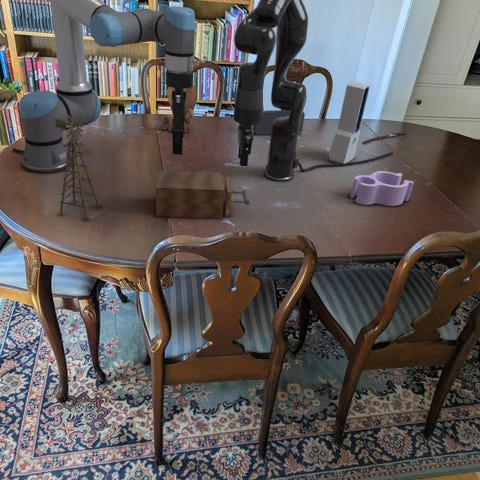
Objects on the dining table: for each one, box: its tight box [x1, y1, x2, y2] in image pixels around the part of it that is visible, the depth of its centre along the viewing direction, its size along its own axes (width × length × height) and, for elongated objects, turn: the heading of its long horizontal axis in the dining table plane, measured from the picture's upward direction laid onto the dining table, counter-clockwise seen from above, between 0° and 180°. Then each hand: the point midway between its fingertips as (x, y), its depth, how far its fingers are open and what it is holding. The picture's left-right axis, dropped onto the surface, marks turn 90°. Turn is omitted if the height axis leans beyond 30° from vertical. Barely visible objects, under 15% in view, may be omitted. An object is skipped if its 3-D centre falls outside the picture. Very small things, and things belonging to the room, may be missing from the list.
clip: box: [349, 170, 415, 207], centre depth 159 cm, size 20×12×7 cm, turn 109°
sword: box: [363, 132, 408, 145], centre depth 213 cm, size 31×3×1 cm, turn 126°
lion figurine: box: [159, 108, 195, 133], centre depth 195 cm, size 15×5×9 cm, turn 110°
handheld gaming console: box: [252, 109, 306, 136], centre depth 203 cm, size 23×3×10 cm, turn 108°
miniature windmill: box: [55, 109, 100, 220], centre depth 128 cm, size 9×8×30 cm
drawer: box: [223, 176, 251, 216], centre depth 141 cm, size 24×10×8 cm, turn 95°
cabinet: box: [155, 170, 225, 219], centre depth 140 cm, size 20×11×10 cm, turn 95°
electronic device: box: [328, 80, 371, 164], centre depth 179 cm, size 12×8×30 cm, turn 148°
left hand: (178, 145), depth 138 cm, fingers open, 13 cm apart
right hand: (242, 161), depth 136 cm, fingers open, 5 cm apart
